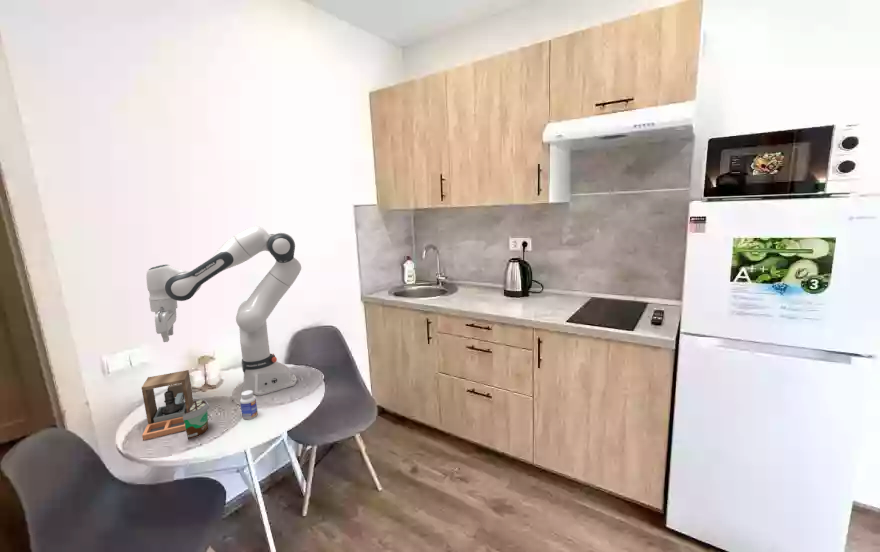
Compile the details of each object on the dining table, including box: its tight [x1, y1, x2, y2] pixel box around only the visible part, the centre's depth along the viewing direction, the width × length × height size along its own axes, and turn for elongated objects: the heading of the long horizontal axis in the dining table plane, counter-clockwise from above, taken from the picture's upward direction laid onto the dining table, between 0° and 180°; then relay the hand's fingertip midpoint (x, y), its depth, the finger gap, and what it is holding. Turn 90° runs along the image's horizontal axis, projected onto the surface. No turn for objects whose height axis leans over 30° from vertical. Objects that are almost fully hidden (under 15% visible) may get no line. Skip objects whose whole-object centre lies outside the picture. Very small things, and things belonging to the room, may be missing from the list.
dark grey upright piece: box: [162, 388, 181, 416], centre depth 147 cm, size 6×6×12 cm
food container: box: [183, 398, 210, 440], centre depth 138 cm, size 12×6×10 cm, turn 17°
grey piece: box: [154, 383, 192, 423], centre depth 155 cm, size 10×26×5 cm, turn 26°
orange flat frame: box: [141, 417, 186, 441], centre depth 140 cm, size 13×8×2 cm, turn 116°
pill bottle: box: [239, 390, 258, 420], centre depth 146 cm, size 5×5×10 cm
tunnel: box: [141, 369, 194, 425], centre depth 147 cm, size 13×10×16 cm
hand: (168, 338), depth 157 cm, fingers open, 8 cm apart
